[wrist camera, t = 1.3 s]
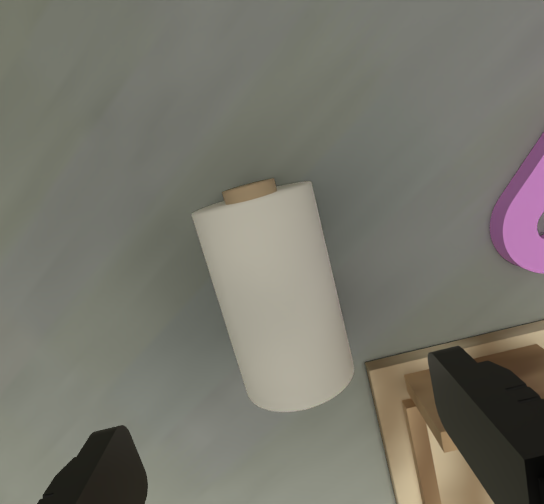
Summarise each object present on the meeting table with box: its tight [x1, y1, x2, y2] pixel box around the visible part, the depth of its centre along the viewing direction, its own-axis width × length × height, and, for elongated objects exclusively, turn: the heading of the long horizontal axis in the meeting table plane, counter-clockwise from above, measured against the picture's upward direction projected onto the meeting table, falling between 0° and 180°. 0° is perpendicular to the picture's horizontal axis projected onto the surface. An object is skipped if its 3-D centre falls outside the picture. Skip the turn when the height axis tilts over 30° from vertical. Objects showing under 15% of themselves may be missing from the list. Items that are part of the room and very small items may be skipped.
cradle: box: [365, 320, 544, 504], centre depth 23 cm, size 12×18×6 cm, turn 15°
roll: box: [191, 178, 354, 412], centre depth 20 cm, size 11×6×6 cm, turn 15°
